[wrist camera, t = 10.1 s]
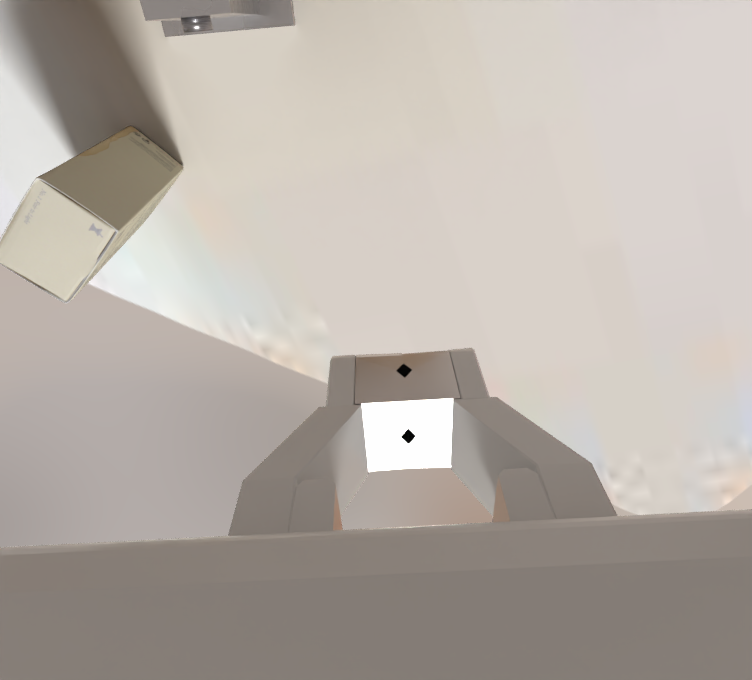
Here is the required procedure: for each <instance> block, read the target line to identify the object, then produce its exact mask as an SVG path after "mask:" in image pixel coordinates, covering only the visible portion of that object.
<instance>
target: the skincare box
mask: <svg viewBox="0 0 752 680" xmlns="http://www.w3.org/2000/svg"><path fill="white" fill-rule="evenodd" d="M182 170H183V166H182V165H181V164H179V163H178V162H177V161H176V160H174V159H173V158H172V157H171V156H170V155H168V154H167V153H166V152H165V151H163V150H162V149H161V148H160V147H158V146H157V145H156V144H155V143H153V142H152V141H151V140H150V139H148V138H147V137H146V136H144V135H143V134H142V133H140V132H139V131H138V130H137V129H135V128H134V127H132V126H129V127H127V128H125V129H123V130H122V131H120V132H118V133H116V134H115V135H113V136H111V137H109V138H107V139H106V140H104V141H102V142H100V143H99V144H97V145H95V146H93V147H92V148H90V149H88V150H86V151H84V152H83V153H81V154H79V155H77V156H76V157H74V158H72V159H70V160H68V161H66V162H65V163H63V164H61V165H59V166H58V167H56V168H54V169H52V170H50V171H48V172H47V173H45V174H43V175H41V176H39V177H37V178H36V179H35V180H34V182H33V183H32V185H31V186H30V188H29V189H28V191H27V192H26V194H25V195H24V197H23V199H22V200H21V202H20V204H19V206H18V207H17V209H16V211H15V212H14V214H13V216H12V218H11V220H10V222H9V223H8V225H7V227H6V229H5V231H4V233H3V234H2V236H1V238H0V265H2V266H4V267H5V268H7V269H9V270H10V271H12V272H13V273H15V274H17V275H19V276H20V277H22V278H23V279H25V280H26V281H28V282H30V283H32V284H33V285H35V286H37V287H38V288H40V289H41V290H43V291H45V292H47V293H48V294H50V295H52V296H53V297H55V298H56V299H58V300H60V301H62V302H64V303H69V302H70V301H71V300H72V299H73V298H74V297H75V296H76V295H77V294H78V293H79V292H80V291H81V290H82V289H83V287H85V285H86V284H87V283H88V282H89V281H90V280H91V279H92V278H93V277H94V276H95V275H96V274H97V273H98V271H99V270H100V269H101V268H102V267H103V266H104V265H105V264H106V263H107V262H108V261H109V260H110V259H111V257H112V256H113V255H114V254H115V253H116V252H117V251H118V250H119V249H120V248H121V247H122V246H123V245H124V244H125V243H126V241H127V240H128V239H129V238H130V237H131V236H132V235H133V234H134V233H135V232H136V231H137V230H138V229H139V228H140V226H141V225H142V224H143V223H144V222H145V221H146V219H147V218H148V217H149V215H150V214H151V213H152V212H153V210H154V209H155V208H156V206H157V205H158V204H159V202H160V201H161V200H162V198H163V197H164V196H165V194H166V193H167V192H168V190H169V189H170V188H171V186H172V185H173V183H174V182H175V180H176V179H177V178H178V176H179V175H180V173H181V172H182Z"/></svg>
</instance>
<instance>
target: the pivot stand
mask: <svg viewBox="0 0 752 680" xmlns="http://www.w3.org/2000/svg"><path fill="white" fill-rule="evenodd" d="M140 2H141V6H142V9H143V13H144V16H145V20H146V21H161V22H162V26H163V30H164V33H165V37H169V36H180V35H191V34H203V33H214V32H225V31H236V30H248V29H259V28H270V27H281V26H293V25H295V19H294V12H293V5H292V0H140Z"/></svg>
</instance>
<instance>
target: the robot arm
mask: <svg viewBox="0 0 752 680" xmlns="http://www.w3.org/2000/svg"><path fill="white" fill-rule="evenodd" d="M428 467H429V468H431V467H451V470H452V471H453V472H454V473H455V474H456V475H457V477H458V478H459V479H460V480H461V481H462V482H463V483H464V484H465V486H467V488H468V489H469V490H470V491H471V492H472V493H473V495H474V496H475V497H476V498H477V499H478V500H479V501H480V502H481V504H482V505H483V506H484V507H485V508H486V509H487V510H488V512H489V513H490V514H491V515H492V516H493V519H492V522H490V523H470V524H453V525H452V524H450V525H431V526H411V527H392V528H373V529H353V530H343V528H342V522H341V516H342V514H343V513H344V511H345V510H346V508H347V507H348V505H349V504H350V502H351V500H352V499H353V497H354V496H355V494H356V493H357V491H358V489H359V488H360V486H361V485H362V483H363V482H364V480H365V479H366V477H367V475H368V474H369V471H377V470H378V471H379V470H391V469H404V468H428ZM0 680H752V509H747V510H727V511H708V512H689V513H670V514H651V515H632V516H617V514H616V512H615V510H614V508H613V506H612V504H611V502H610V500H609V498H608V496H607V494H606V492H605V490H604V488H603V486H602V484H601V482H600V480H599V478H598V476H597V474H596V472H595V469H594V467H593V465H592V463H590V462H589V461H587V460H586V459H585V458H583V457H582V456H580V455H579V454H577V453H576V452H575V451H573V450H572V449H570V448H569V447H567V446H566V445H565V444H563V443H562V442H560V441H559V440H557V439H556V438H555V437H553V436H552V435H550V434H549V433H547V432H546V431H545V430H543V429H542V428H540V427H539V426H537V425H536V424H535V423H533V422H532V421H530V420H529V419H527V418H526V417H525V416H523V415H522V414H520V413H519V412H517V411H516V410H515V409H513V408H512V407H510V406H509V405H507V404H506V403H504V402H503V401H502V400H500V399H499V398H497V397H489V394H488V391H487V387H486V384H485V381H484V378H483V375H482V372H481V369H480V366H479V363H478V360H477V357H476V354H475V351H474V350H473V349H472V348H464V349H453V350H448V351H435V352H420V353H404V354H402V353H394V354H366V355H356V356H355V355H345V356H332V358H331V361H330V371H329V381H328V390H327V400H326V407H319V408H317V410H315V411H314V412H313V413H312V414H311V415H310V416H309V417H308V418H307V419H306V420H305V421H304V422H303V423H302V424H301V425H300V426H299V427H298V428H297V429H296V430H295V431H294V432H293V433H292V434H291V435H290V436H289V437H288V438H287V439H285V440H284V441H283V442H282V443H281V444H280V445H279V446H278V447H277V449H275V450H274V451H273V452H272V453H271V454H270V455H269V456H268V457H267V458H266V459H265V460H264V461H263V462H262V463H261V464H260V465H259V466H258V467H257V468H256V469H255V470H254V471H253V472H252V473H250V474H249V475H248V476H247V477H246V478H245V479H244V480H243V482H242V486H241V490H240V493H239V497H238V501H237V504H236V508H235V512H234V516H233V520H232V523H231V527H230V531H229V534H228V536H218V537H217V536H216V537H196V538H176V539H158V540H137V541H117V542H98V543H78V544H58V545H39V546H19V547H0Z"/></svg>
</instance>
